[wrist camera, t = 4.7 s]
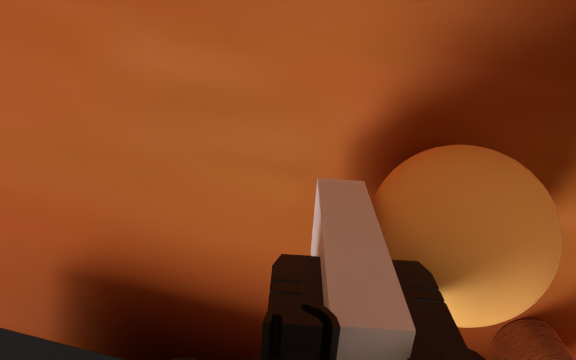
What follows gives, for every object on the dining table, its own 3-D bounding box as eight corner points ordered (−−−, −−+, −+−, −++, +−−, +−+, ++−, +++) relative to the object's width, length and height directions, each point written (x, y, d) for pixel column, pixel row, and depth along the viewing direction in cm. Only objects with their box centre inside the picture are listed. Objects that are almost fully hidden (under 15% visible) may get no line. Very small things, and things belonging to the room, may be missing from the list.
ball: (349, 261, 17) (490, 264, 17) (375, 368, 11) (578, 374, 11) (361, 123, 15) (520, 127, 15) (398, 178, 10) (643, 185, 9)
